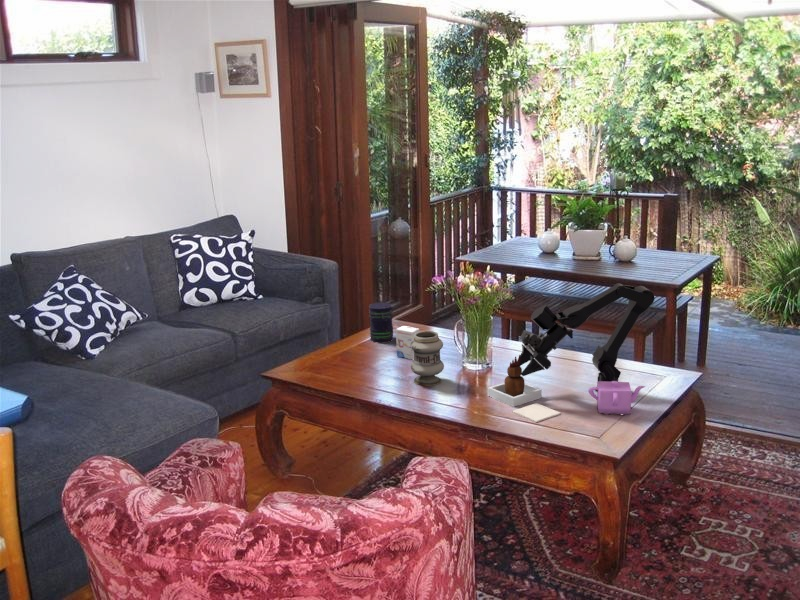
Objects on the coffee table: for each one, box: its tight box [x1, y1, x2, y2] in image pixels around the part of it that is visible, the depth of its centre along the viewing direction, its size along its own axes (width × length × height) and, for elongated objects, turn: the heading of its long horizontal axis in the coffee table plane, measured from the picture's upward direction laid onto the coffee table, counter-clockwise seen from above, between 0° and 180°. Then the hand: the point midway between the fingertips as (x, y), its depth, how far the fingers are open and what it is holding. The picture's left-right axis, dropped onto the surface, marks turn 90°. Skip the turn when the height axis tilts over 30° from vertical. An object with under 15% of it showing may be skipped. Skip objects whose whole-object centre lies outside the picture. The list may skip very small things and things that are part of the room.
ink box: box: [395, 325, 421, 360], centre depth 339 cm, size 9×5×12 cm, turn 55°
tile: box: [512, 402, 561, 423], centre depth 281 cm, size 11×11×1 cm
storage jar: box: [368, 301, 394, 344], centre depth 362 cm, size 10×10×15 cm
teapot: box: [587, 380, 646, 415], centre depth 279 cm, size 18×14×10 cm
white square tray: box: [487, 382, 543, 408], centre depth 295 cm, size 13×13×3 cm
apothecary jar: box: [410, 330, 445, 387], centre depth 310 cm, size 12×12×18 cm
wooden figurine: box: [504, 354, 526, 397], centre depth 293 cm, size 7×6×15 cm
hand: (518, 370), depth 293 cm, fingers open, 9 cm apart
